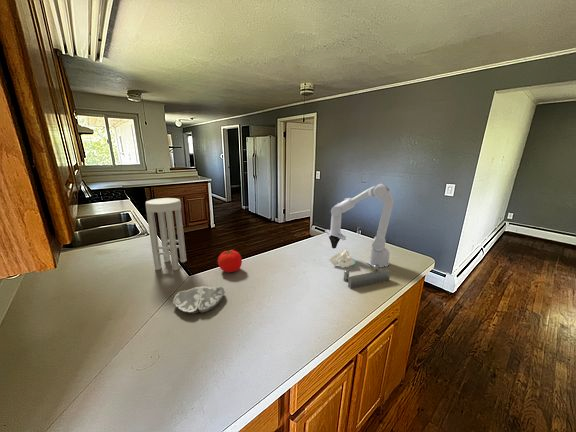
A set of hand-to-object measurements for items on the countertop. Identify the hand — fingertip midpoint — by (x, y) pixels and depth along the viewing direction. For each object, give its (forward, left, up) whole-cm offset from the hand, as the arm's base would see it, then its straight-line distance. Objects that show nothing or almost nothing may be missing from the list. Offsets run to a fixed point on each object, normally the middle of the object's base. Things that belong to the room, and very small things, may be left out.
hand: (334, 247), depth 140 cm
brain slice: (+75, +22, -6) cm, 78 cm away
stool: (+89, -18, -5) cm, 91 cm away
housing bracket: (0, +29, -5) cm, 29 cm away
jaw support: (0, +12, -6) cm, 13 cm away
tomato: (+60, -1, -5) cm, 60 cm away
